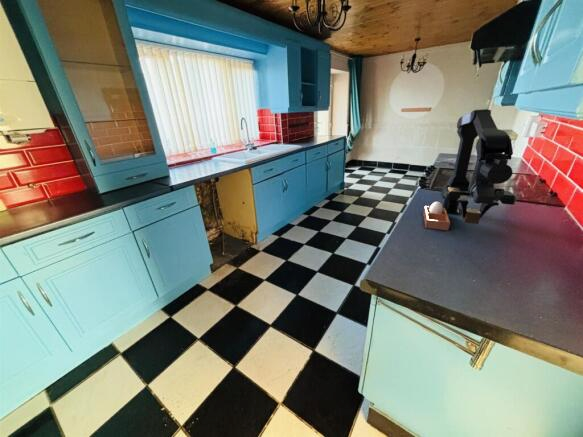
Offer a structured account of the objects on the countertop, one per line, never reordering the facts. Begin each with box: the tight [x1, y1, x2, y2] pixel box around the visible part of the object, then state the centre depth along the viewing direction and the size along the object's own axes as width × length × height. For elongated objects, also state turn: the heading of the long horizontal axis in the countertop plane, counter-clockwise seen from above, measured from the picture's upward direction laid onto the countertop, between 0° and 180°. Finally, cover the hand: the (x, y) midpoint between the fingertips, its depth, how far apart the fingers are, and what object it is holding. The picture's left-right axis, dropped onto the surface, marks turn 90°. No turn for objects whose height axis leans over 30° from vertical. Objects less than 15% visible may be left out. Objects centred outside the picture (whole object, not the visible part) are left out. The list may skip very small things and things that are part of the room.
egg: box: [429, 201, 443, 214], centre depth 99 cm, size 5×5×7 cm
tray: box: [422, 205, 451, 231], centre depth 97 cm, size 8×15×4 cm, turn 156°
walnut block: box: [462, 207, 482, 225], centre depth 83 cm, size 4×4×4 cm
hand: (470, 218), depth 83 cm, fingers closed on walnut block, 4 cm apart
